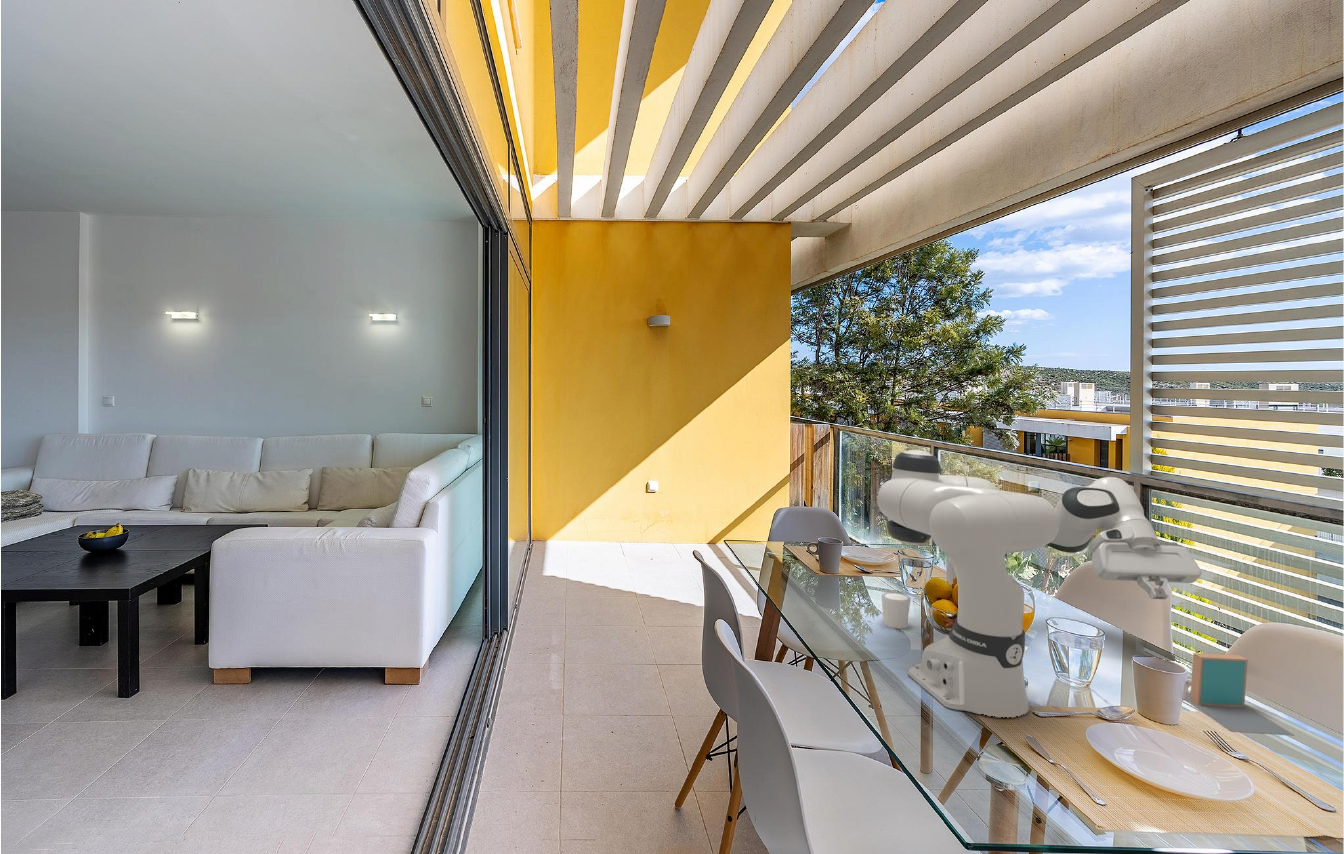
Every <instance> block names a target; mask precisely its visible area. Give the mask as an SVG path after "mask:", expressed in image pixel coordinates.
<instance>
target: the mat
mask: <svg viewBox="0 0 1344 854" xmlns="http://www.w3.org/2000/svg"><path fill="white" fill-rule="evenodd" d="M1185 693H1186V696H1185V698H1184V699H1183V700H1184V701H1185V702H1186V703H1189V704H1190V705H1191V706H1193V707H1194V708H1195V709H1197V710H1199V711H1200V712H1201V713H1203V714H1205V715H1206V716H1207V717H1209V718H1210V719H1212V720H1213V721H1215V722H1216V723H1217V724H1219V725H1221V726H1222V727H1223V728H1225V729H1227V730H1228V731H1230V732H1231V733H1245V734H1246V733H1248V734H1262V735H1263V734H1264V735H1279V736H1280V735H1281V736H1294V734H1293V733H1292V732H1290V731H1288V730H1287V729H1285V728H1284V727H1283V726H1280V725H1279V724H1277V723H1276V722H1274V721H1272V720H1271V719H1269V718H1267V717H1266V716H1265V715H1263V714H1261V713H1259V712H1257V711H1255V710H1254V709H1253V708H1251V707H1249V706H1248V705H1246V704H1244V707H1227V706H1208V705H1197V704H1196V703H1194V702H1193V701H1191V700H1190V696H1191V692H1185Z"/></svg>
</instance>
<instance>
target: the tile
mask: <svg viewBox="0 0 1344 854" xmlns="http://www.w3.org/2000/svg"><path fill="white" fill-rule="evenodd" d="M1192 653H1193V654H1192V655H1193V656H1192V668H1191V681H1190V683H1191V685H1190V693H1191V696H1190V700H1191V701H1193V702H1194V703H1196V704H1197V705H1208V706H1227V707H1244V704H1245V703H1246V702H1245V701H1246V688H1247V675H1248V674H1247V673H1248V664H1249V663H1248V662H1249V659H1248V658H1245V657H1244V656H1242V655H1239V654H1224V653H1222V654H1221V653H1217V654H1216V653H1205V652H1204V653H1202V652H1201V653H1200V652H1192ZM1245 705H1246V704H1245Z"/></svg>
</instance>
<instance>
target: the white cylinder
mask: <svg viewBox="0 0 1344 854" xmlns="http://www.w3.org/2000/svg"><path fill="white" fill-rule="evenodd" d="M911 601H912V598H911V597H910V596H909V595H907V594H903V593H899V592H885V593H882V594H881V606H882V623H883V625H884V626H886V627H888V628H892V629H893V628H894V629H905V628H907V627H908V623H909V622H908V621H909V614H910V609H911V608H910V607H911Z"/></svg>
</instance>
